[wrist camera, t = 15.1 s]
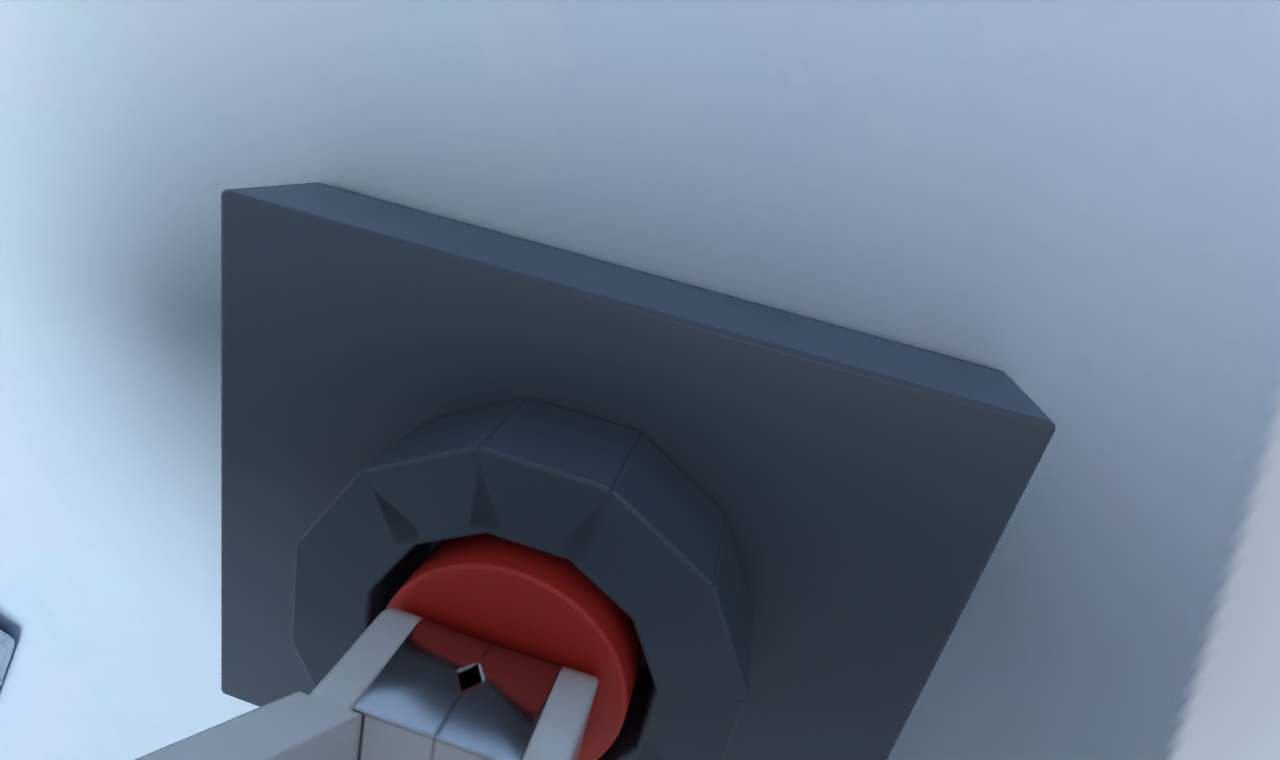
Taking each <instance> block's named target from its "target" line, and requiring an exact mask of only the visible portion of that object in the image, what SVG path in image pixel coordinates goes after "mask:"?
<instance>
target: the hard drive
mask: <svg viewBox="0 0 1280 760" xmlns="http://www.w3.org/2000/svg"><path fill="white" fill-rule="evenodd" d="M14 646H15V642H14V640H13V638H12V637H11V636H9V635H8V634H6V633H5V632H3V631H2V630H0V686H1V684H2V680H3V678H4V675H5V672H6V669H7V666H8V663H9V661H10V658H11V655H12V652H13V649H14Z"/></svg>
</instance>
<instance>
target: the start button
mask: <svg viewBox="0 0 1280 760" xmlns="http://www.w3.org/2000/svg"><path fill="white" fill-rule="evenodd" d="M391 606H393V607H396V608H398V609H401V610H404V611H406V612H409V613H412V614H414V615H417V616H420V617H422V618H427V619H430V620H433V621H435V622H438V623H441V624H443V625H446V626H449V627H451V628H454V629H457V630H459V631H462V632H465V633H467V634H470V635H473V636H475V637H478V638H481V639H483V640H486V641H489V642H491V643H496V644H499V645H502V646H505V647H508V648H511V649H514V650H517V651H520V652H523V653H526V654H529V655H532V656H535V657H538V658H541V659H544V660H547V661H550V662H553V663H556V664H559V665H563V666H566V667H569V668H572V669H575V670H578V671H581V672H584V673H587V674H590V675H593V676H596V677H598V678H599V683H598V687H597V691H596V694H595V698H594V702H593V705H592V709H591V712H590V716H589V720H588V723H587V727H586V730H585V734H584V738H583V741H582V745H581V748H580V752H579V755H578V758H577V760H597V759H598V758H599V757H601V756H602V755H603V754H604V753H605V752H606V751H607V750H608V748H609V747H610V746H611V745H612V744H613V743H614V741H615V739H616V738H617V736H618V735H619V733H620V731H621V728H622V726H623V723H624V721H625V717H626V714H627V710H628V707H629V703H630V700H631V696H632V692H633V689H634V685H635V682H636V678H637V675H638V671H639V667H640V664H641V660H642V657H643V650H642V647H641V644H640V641H639V638H638V635H637V632H636V629H635V626H634V624H633V621H632V619H631V618H630V617H629V616H628V615H627V614H626V613H625V612H624V611H623V610H622V609H621V608H620V607H619V606H617V605H616V604H615V603H614V602H613V601H612V600H611V599H610V598H609V597H608V596H607V595H606V594H605V593H603V592H602V591H601V590H600V589H599V588H598V587H597V586H596V585H595V584H594V583H593V582H592V581H591V580H590V579H588V578H587V577H586V576H585V575H584V574H583V573H582V572H581V571H580V570H579V569H578V568H577V567H576V566H574V565H573V564H572V563H571V562H570V561H569V560H567V559H564V558H561V557H558V556H555V555H552V554H549V553H546V552H543V551H540V550H537V549H534V548H531V547H528V546H525V545H522V544H519V543H516V542H512V541H509V540H506V539H503V538H500V537H497V536H494V535H491V534H488V533H484V534H478V535H472V536H466V537H460V538H454V539H448V540H442V541H441V542H440V543H439V544H438V546H437V547H436V548H435V549H434V550H433V551H432V552H431V554H430V555H429V556H428V557H427V558H426V559H425V560H424V562H423V563H422V564H421V565H420V566H419V567H418V569H417V570H416V571H415V572H414V573H413V574H412V575H411V577H410V578H409V579H408V580H407V581H406V582H405V583H404V585H403V586H402V587H401V588H400V589H399V590H398V592H397V593H396V594H395V595H394V596H393V597H392V599H391V601H390V602H389V604H388V606H387V607H386V609H387V608H389V607H391ZM386 609H385V610H386Z"/></svg>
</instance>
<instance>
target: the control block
mask: <svg viewBox="0 0 1280 760" xmlns="http://www.w3.org/2000/svg"><path fill="white" fill-rule="evenodd" d="M1054 431H1055V424H1054V423H1053V422H1052V421H1051V420H1050V419H1049V418H1048V417H1047V416H1046V415H1045V413H1044V412H1043V411H1042V410H1041V409H1040V408H1039V407H1038V406H1037V405H1036V404H1035V403H1034V402H1033V401H1032V400H1031V399H1030V398H1029V397H1028V396H1027V395H1026V394H1025V393H1024V392H1023V391H1022V390H1021V389H1020V388H1019V387H1018V386H1017V385H1016V384H1015V383H1014V382H1013V381H1012V380H1011V379H1010V378H1009V377H1008V376H1007V375H1006V374H1005V373H1004V372H1001V371H998V370H994V369H991V368H987V367H983V366H980V365H976V364H972V363H969V362H965V361H962V360H958V359H954V358H951V357H947V356H943V355H940V354H936V353H933V352H929V351H925V350H922V349H918V348H915V347H911V346H907V345H904V344H900V343H896V342H893V341H889V340H886V339H882V338H878V337H875V336H871V335H867V334H864V333H860V332H857V331H853V330H849V329H846V328H842V327H838V326H835V325H831V324H828V323H824V322H820V321H817V320H813V319H809V318H806V317H802V316H799V315H795V314H791V313H788V312H784V311H780V310H777V309H773V308H770V307H766V306H762V305H759V304H755V303H751V302H748V301H744V300H741V299H737V298H733V297H730V296H726V295H722V294H719V293H715V292H712V291H708V290H704V289H701V288H697V287H693V286H690V285H686V284H683V283H679V282H675V281H672V280H668V279H664V278H661V277H657V276H654V275H650V274H646V273H643V272H639V271H635V270H632V269H628V268H625V267H621V266H617V265H614V264H610V263H606V262H603V261H599V260H596V259H592V258H588V257H585V256H581V255H577V254H574V253H570V252H567V251H563V250H559V249H556V248H552V247H549V246H545V245H541V244H538V243H534V242H530V241H527V240H523V239H520V238H516V237H512V236H509V235H505V234H501V233H498V232H494V231H491V230H487V229H483V228H480V227H476V226H472V225H469V224H465V223H462V222H458V221H454V220H451V219H447V218H443V217H440V216H436V215H433V214H429V213H425V212H422V211H418V210H414V209H411V208H407V207H404V206H400V205H396V204H393V203H389V202H385V201H382V200H378V199H375V198H371V197H367V196H364V195H360V194H356V193H353V192H349V191H346V190H342V189H338V188H335V187H331V186H327V185H324V184H320V183H307V184H294V185H281V186H268V187H255V188H242V189H229V190H224V191H223V192H222V195H221V446H222V692H223V693H225V694H227V695H230V696H233V697H235V698H238V699H241V700H243V701H246V702H249V703H252V704H254V705H257V706H260V707H262V706H264V705H266V704H269V703H271V702H274V701H276V700H278V699H281V698H283V697H285V696H288V695H290V694H293V693H295V692H297V691H300V692H303V693H306V694H309V695H310V693H311V692H312V691H313V690H314V689H315V688H316V686H317V685H318V684H319V683H320V682H321V681H322V680H323V678H324V677H325V676H326V675H327V674H328V673H329V671H330V670H331V669H332V668H333V667H334V666H335V665H336V663H337V662H338V661H339V660H340V659H341V658H342V657H343V655H344V654H345V653H346V652H347V651H348V650H349V648H350V647H351V646H352V645H353V644H354V643H355V642H356V640H357V639H358V638H359V637H360V636H361V635H362V633H363V632H364V631H365V630H366V629H367V628H368V627H369V625H370V624H371V623H372V622H373V621H374V620H375V618H376V617H377V616H378V615H379V614H380V613H381V612H382V611H384V610H385V609H386V607H387V606H388V604H389V602H390V601H391V599H392V597H393V596H394V595H395V594H396V593H397V592H398V590H399V589H400V588H401V587H402V586H403V585H404V583H405V582H406V581H407V580H408V579H409V578H410V577H411V575H412V574H413V573H414V572H415V571H416V570H417V569H418V567H419V566H420V565H421V564H422V563H423V562H424V560H425V559H426V558H427V557H428V556H429V555H430V554H431V552H432V551H433V550H434V549H435V548H436V547H437V546H438V544H439V543H440V542H441V541H442V540H448V539H454V538H460V537H466V536H472V535H478V534H484V533H488V534H491V535H494V536H497V537H500V538H503V539H506V540H509V541H512V542H516V543H519V544H522V545H525V546H528V547H531V548H534V549H537V550H540V551H543V552H546V553H549V554H552V555H555V556H558V557H561V558H564V559H567V560H569V561H570V562H571V563H572V564H573V565H574V566H576V567H577V568H578V569H579V570H580V571H581V572H582V573H583V574H584V575H585V576H586V577H587V578H588V579H590V580H591V581H592V582H593V583H594V584H595V585H596V586H597V587H598V588H599V589H600V590H601V591H602V592H603V593H605V594H606V595H607V596H608V597H609V598H610V599H611V600H612V601H613V602H614V603H615V604H616V605H617V606H619V607H620V608H621V609H622V610H623V611H624V612H625V613H626V614H627V615H628V616H629V617H630V618H631V619H632V621H633V624H634V626H635V629H636V632H637V635H638V638H639V641H640V644H641V647H642V650H643V657H642V660H641V664H640V667H639V671H638V675H637V678H636V682H635V685H634V689H633V692H632V696H631V700H630V703H629V707H628V710H627V714H626V717H625V721H624V723H623V726H622V728H621V731H620V733H619V735H618V736H617V738H616V739H615V741H614V743H613V744H612V745H611V746H610V747H609V748H608V750H607V751H606V752H605V753H604V754H603V755H602V756H601V757H599V758H598V759H597V760H887V758H888V756H889V754H890V752H891V750H892V748H893V746H894V744H895V742H896V740H897V738H898V736H899V734H900V732H901V730H902V728H903V726H904V724H905V723H906V721H907V719H908V717H909V715H910V713H911V711H912V709H913V707H914V705H915V703H916V701H917V699H918V697H919V695H920V693H921V691H922V689H923V687H924V685H925V683H926V681H927V679H928V678H929V676H930V674H931V672H932V670H933V668H934V666H935V664H936V662H937V660H938V658H939V656H940V654H941V652H942V650H943V648H944V646H945V644H946V642H947V640H948V638H949V636H950V634H951V633H952V631H953V629H954V627H955V625H956V623H957V621H958V619H959V617H960V615H961V613H962V611H963V609H964V607H965V605H966V603H967V601H968V599H969V597H970V595H971V593H972V591H973V589H974V588H975V586H976V584H977V582H978V580H979V578H980V576H981V574H982V572H983V570H984V568H985V566H986V564H987V562H988V560H989V558H990V556H991V554H992V552H993V550H994V548H995V546H996V544H997V543H998V541H999V539H1000V537H1001V535H1002V533H1003V531H1004V529H1005V527H1006V525H1007V523H1008V521H1009V519H1010V517H1011V515H1012V513H1013V511H1014V509H1015V507H1016V505H1017V503H1018V501H1019V499H1020V498H1021V496H1022V494H1023V492H1024V490H1025V488H1026V486H1027V484H1028V482H1029V480H1030V478H1031V476H1032V474H1033V472H1034V470H1035V468H1036V466H1037V464H1038V462H1039V460H1040V458H1041V456H1042V454H1043V453H1044V451H1045V449H1046V447H1047V445H1048V443H1049V441H1050V439H1051V437H1052V435H1053V433H1054Z"/></svg>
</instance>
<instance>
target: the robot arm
mask: <svg viewBox="0 0 1280 760" xmlns="http://www.w3.org/2000/svg"><path fill="white" fill-rule="evenodd" d="M598 683H599V678H598V677H596V676H593V675H590V674H587V673H584V672H581V671H578V670H575V669H572V668H569V667H566V666H563V665H559V664H556V663H553V662H550V661H547V660H544V659H541V658H538V657H535V656H532V655H529V654H526V653H523V652H520V651H517V650H514V649H511V648H508V647H505V646H502V645H499V644H496V643H491V642H489V641H486V640H483V639H481V638H478V637H475V636H473V635H470V634H467V633H465V632H462V631H459V630H457V629H454V628H451V627H449V626H446V625H443V624H441V623H438V622H435V621H433V620H430V619H427V618H422V617H420V616H417V615H414V614H412V613H409V612H406V611H404V610H401V609H398V608H396V607H393V606H391V607H389V608H387V609H386V610H384V611H382V612H381V613H380V614H379V615H378V616H377V617H376V618H375V620H374V621H373V622H372V623H371V624H370V625H369V627H368V628H367V629H366V630H365V631H364V632H363V633H362V635H361V636H360V637H359V638H358V639H357V640H356V642H355V643H354V644H353V645H352V646H351V647H350V648H349V650H348V651H347V652H346V653H345V654H344V655H343V657H342V658H341V659H340V660H339V661H338V662H337V663H336V665H335V666H334V667H333V668H332V669H331V670H330V671H329V673H328V674H327V675H326V676H325V677H324V678H323V680H322V681H321V682H320V683H319V684H318V685H317V686H316V688H315V689H314V690H313V691H312V692H311V693H310V695H309V694H306V693H303V692H300V691H297V692H295V693H293V694H290V695H288V696H285V697H283V698H281V699H278V700H276V701H274V702H271V703H269V704H266V705H264V706H262V707H259V708H257V709H254V710H252V711H250V712H247V713H245V714H242V715H240V716H238V717H235V718H233V719H231V720H228V721H226V722H223V723H221V724H219V725H216V726H214V727H211V728H209V729H207V730H204V731H202V732H199V733H197V734H195V735H192V736H190V737H188V738H185V739H183V740H180V741H178V742H176V743H173V744H171V745H168V746H166V747H164V748H161V749H159V750H156V751H154V752H152V753H149V754H147V755H145V756H142V757H140V758H137V759H135V760H577V758H578V755H579V752H580V748H581V745H582V741H583V738H584V734H585V730H586V727H587V723H588V720H589V716H590V712H591V709H592V705H593V702H594V698H595V694H596V691H597V687H598Z"/></svg>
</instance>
